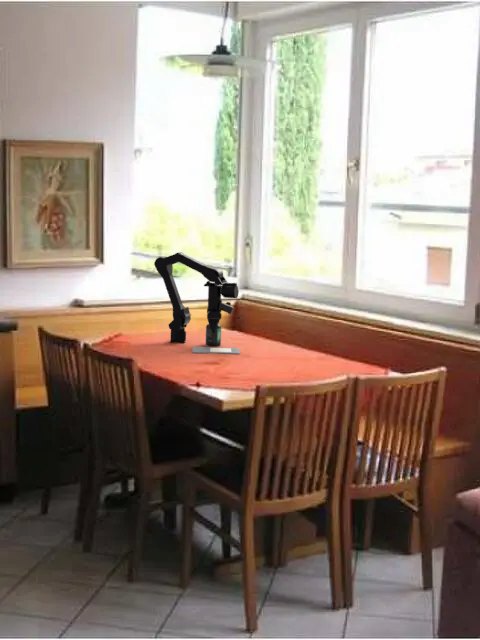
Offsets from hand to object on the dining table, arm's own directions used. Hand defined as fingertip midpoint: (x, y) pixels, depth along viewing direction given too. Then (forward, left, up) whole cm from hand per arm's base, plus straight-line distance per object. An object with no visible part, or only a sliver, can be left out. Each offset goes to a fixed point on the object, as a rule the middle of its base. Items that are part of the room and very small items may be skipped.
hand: (213, 331), depth 421 cm
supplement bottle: (0, 0, -6) cm, 6 cm away
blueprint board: (+1, -15, -6) cm, 16 cm away
